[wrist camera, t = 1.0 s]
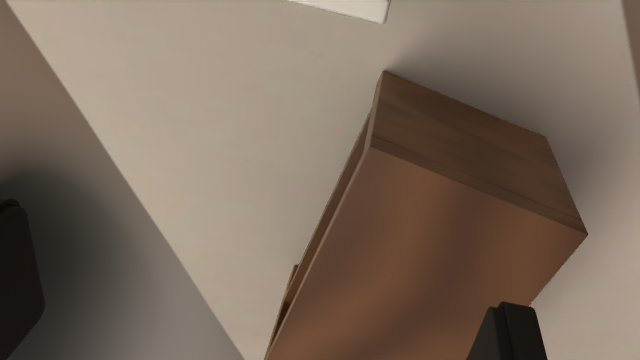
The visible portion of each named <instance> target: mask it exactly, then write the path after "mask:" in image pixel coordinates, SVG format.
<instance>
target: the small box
mask: <svg viewBox="0 0 640 360" xmlns="http://www.w3.org/2000/svg"><path fill="white" fill-rule="evenodd" d="M287 1H291V2H295V3H299V4H302V5H306V6H310V7H314V8H318V9H322V10H326V11H330V12H334V13H338V14H342V15H346V16H350V17H354V18H358V19H362V20H366V21H370V22H374V23H378V24H384V23H385V22H386V20H387V15H388V10H389V6H390V2H391V0H287Z"/></svg>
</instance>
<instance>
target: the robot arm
mask: <svg viewBox="0 0 640 360" xmlns="http://www.w3.org/2000/svg"><path fill="white" fill-rule="evenodd" d="M44 306H45V302H44V297H43V292H42V286H41V282H40V277H39V272H38V267H37V262H36V257H35V252H34V248H33V242H32V238H31V233H30V228H29V223H28V218H27V214H26V211H25V210H24V209H23V208H21V207H20V204H19V202H17V200H15V199H12V198H7V197H2V196H0V360H7V358H8V357H9V356H10V355H11V354H12V352H13V351H14V350H15V349H16V348H17V346H18V345H19V344H20V343H21V341H22V340H23V339H24V338H25V337H26V335H27V334H28V333H29V332H30V330H31V329H32V328H33V327H34V326H35V324H36V323H37V322H38V321H39V319H40V318H41V316H42V314H43V311H44ZM466 360H547V356H546V352H545V348H544V344H543V340H542V336H541V332H540V328H539V324H538V320H537V316H536V312H535V310H534V309H533V308H532V307H529V306H524V305H519V304H514V303H509V302H505V301H502V302H501V303H499V305H498V307H497V308H496V307H489V308H488V310H487V311H486V314H485V316H484V319H483V321H482V323H481V326H480V328H479V331H478V333H477V335H476V338H475V340H474V343H473V345H472V347H471V350H470V352H469V355H468V357H467V359H466Z"/></svg>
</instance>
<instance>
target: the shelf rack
mask: <svg viewBox="0 0 640 360" xmlns="http://www.w3.org/2000/svg"><path fill="white" fill-rule="evenodd" d="M587 236H588V233H587V230H586V228H585V226H584V223H583V221H582V220H581V217H580V215H579V213H578V210H577V208H576V206H575V203H574V201H573V199H572V197H571V194H570V192H569V190H568V187H567V185H566V183H565V181H564V178H563V176H562V174H561V171H560V169H559V167H558V165H557V162H556V160H555V158H554V155H553V153H552V151H551V148H550V146H549V144H548V142H547V139H546V138H545V137H543V136H540V135H538V134H536V133H533V132H531V131H528V130H526V129H524V128H521V127H519V126H516V125H514V124H511V123H509V122H507V121H504V120H502V119H499V118H497V117H495V116H492V115H490V114H487V113H485V112H482V111H480V110H478V109H475V108H473V107H470V106H468V105H466V104H463V103H461V102H458V101H456V100H453V99H451V98H449V97H446V96H444V95H441V94H439V93H437V92H434V91H432V90H429V89H427V88H424V87H422V86H420V85H417V84H415V83H412V82H410V81H408V80H405V79H403V78H400V77H398V76H395V75H393V74H391V73H388V72H386V71H383V72H382V74H381V76H380V78H379V81H378V83H377V85H376V90H375V95H374V100H373V105H372V108H371V110H370V112H369V114H368V116H367V118H366V121H365V123H364V125H363V127H362V129H361V131H360V134H359V136H358V138H357V140H356V142H355V145H354V147H353V149H352V151H351V153H350V155H349V158H348V160H347V162H346V164H345V166H344V168H343V171H342V173H341V175H340V177H339V179H338V181H337V184H336V186H335V188H334V190H333V192H332V194H331V197H330V199H329V201H328V203H327V205H326V207H325V210H324V212H323V214H322V216H321V218H320V221H319V223H318V225H317V227H316V229H315V231H314V234H313V236H312V238H311V240H310V242H309V244H308V247H307V249H306V251H305V253H304V255H303V257H302V260H301V262H300V264H299V266H297V265H295V266H294V268H293V270H292V272H291V275H290V278H289V281H288V284H287V287H286V291H285V294H284V297H283V300H282V303H281V307H280V310H279V313H278V316H277V319H276V323H275V326H274V329H273V332H272V335H271V339H270V342H269V345H268V348H267V351H266V355H265V358H264V360H466V359H467V357H468V355H469V352H470V350H471V347H472V345H473V343H474V340H475V338H476V335H477V333H478V331H479V328H480V326H481V323H482V321H483V319H484V316H485V314H486V311H487V310H488V308H489V307H496V308H497V307H498V305H499V303H501V302H502V301H505V302H509V303H514V304H519V305H524V306H529V304H530V303H531V302H532V301H533V300H534V299H535V297H536V296H537V295H538V294H539V293H540V291H541V290H542V289H543V288H544V287H545V285H546V284H547V283H548V282H549V281H550V280H551V278H552V277H553V276H554V275H555V274H556V272H557V271H558V270H559V269H560V268H561V267H562V265H563V264H564V263H565V262H566V261H567V259H568V258H569V257H570V256H571V255H572V254H573V252H574V251H575V250H576V249H577V248H578V246H579V245H580V244H581V243H582V242H583V240H584V239H585V238H586V237H587Z"/></svg>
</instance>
